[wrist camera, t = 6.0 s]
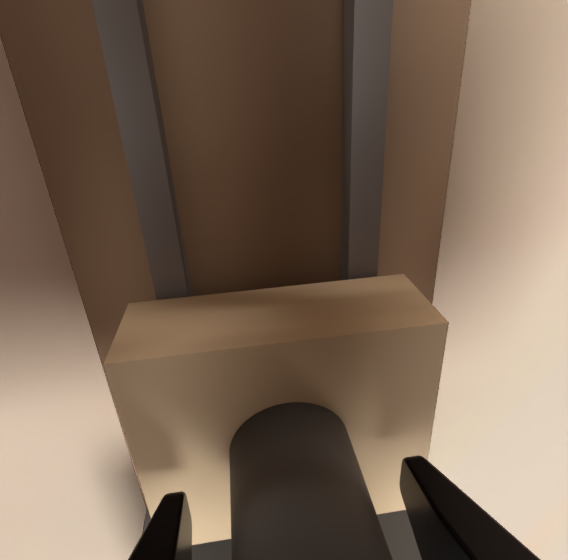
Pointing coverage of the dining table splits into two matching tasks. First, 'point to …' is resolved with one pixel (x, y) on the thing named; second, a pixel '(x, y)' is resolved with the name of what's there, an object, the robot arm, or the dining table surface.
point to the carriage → (281, 410)
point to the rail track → (238, 140)
